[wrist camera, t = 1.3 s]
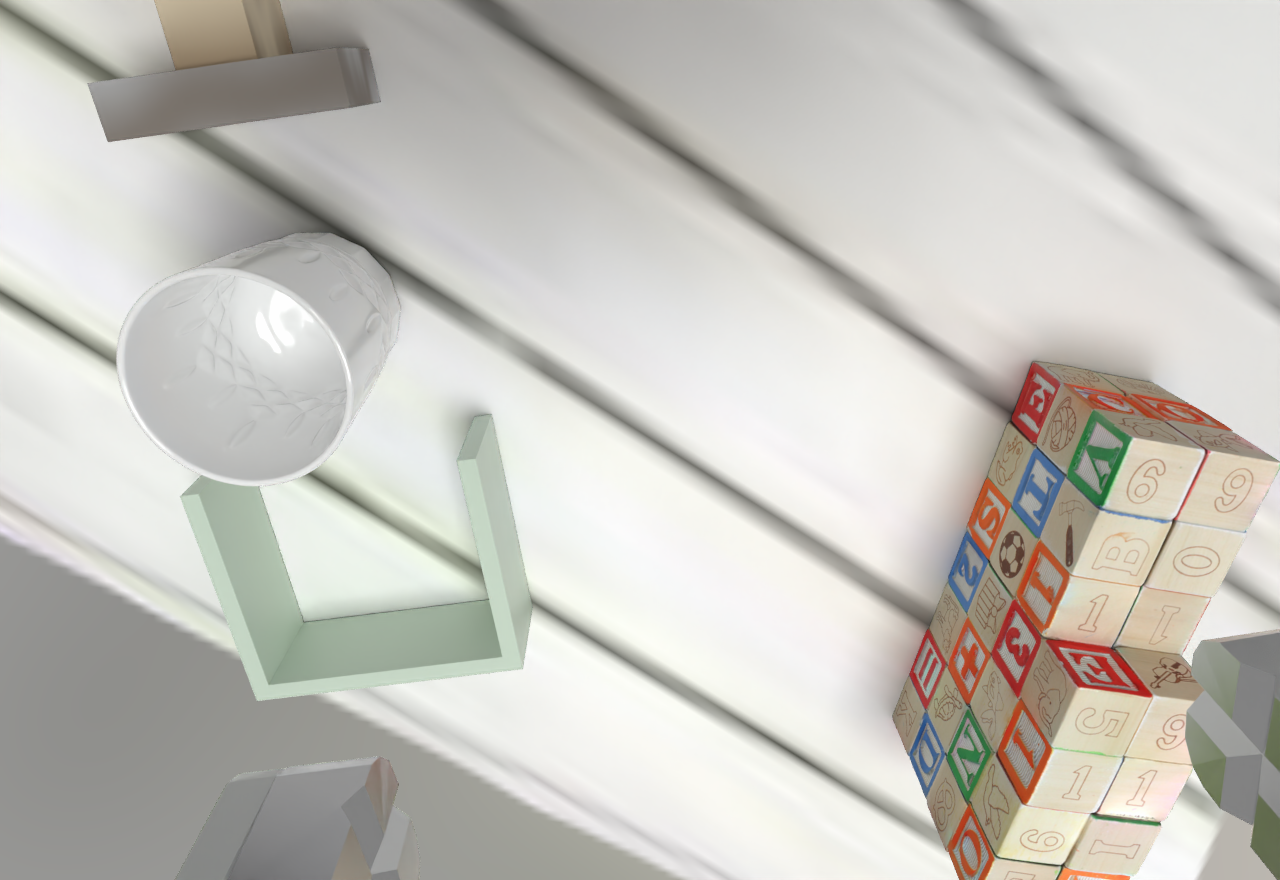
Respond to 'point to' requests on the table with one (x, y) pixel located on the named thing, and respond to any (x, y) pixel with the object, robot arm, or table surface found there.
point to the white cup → (259, 356)
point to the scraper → (231, 73)
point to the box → (376, 643)
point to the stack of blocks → (1076, 628)
